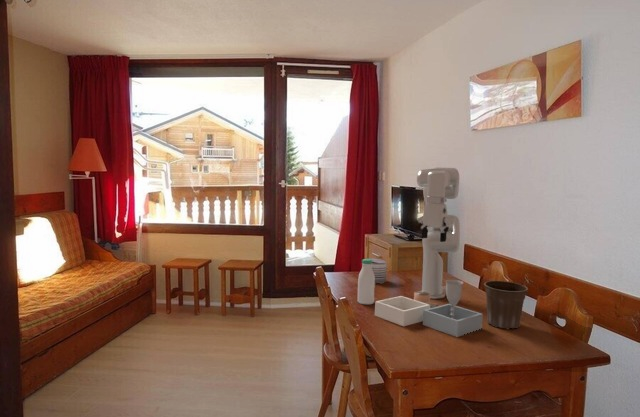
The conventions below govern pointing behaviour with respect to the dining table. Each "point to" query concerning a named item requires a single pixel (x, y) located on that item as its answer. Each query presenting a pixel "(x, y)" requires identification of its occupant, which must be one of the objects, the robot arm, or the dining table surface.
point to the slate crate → (452, 320)
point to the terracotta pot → (422, 297)
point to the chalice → (453, 293)
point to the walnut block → (432, 304)
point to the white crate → (401, 310)
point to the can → (379, 270)
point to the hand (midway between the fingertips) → (433, 239)
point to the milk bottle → (366, 283)
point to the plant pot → (504, 303)
